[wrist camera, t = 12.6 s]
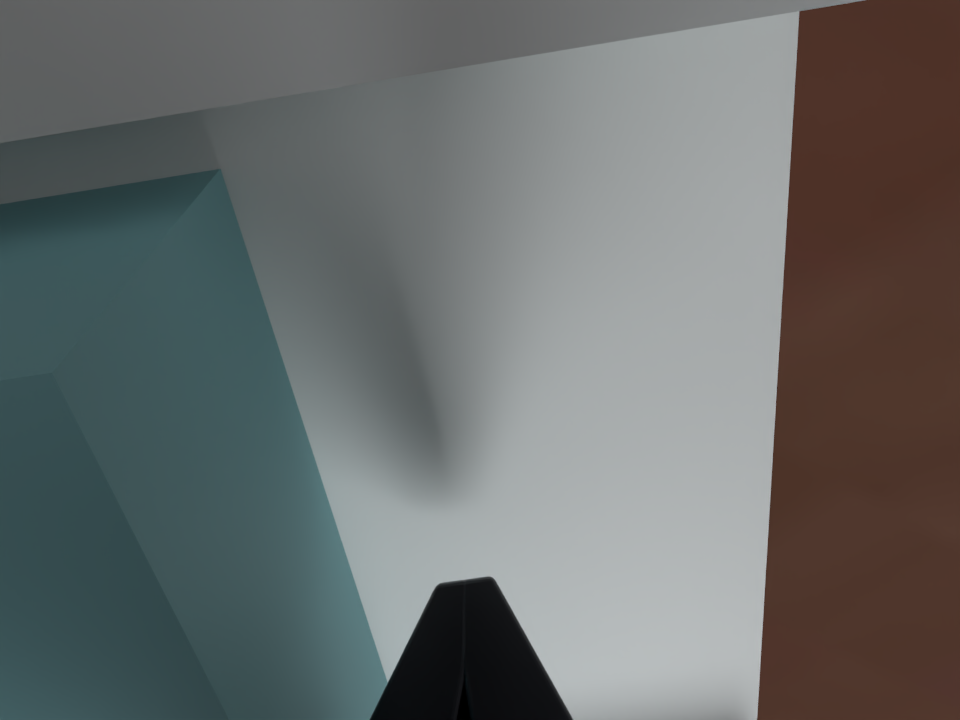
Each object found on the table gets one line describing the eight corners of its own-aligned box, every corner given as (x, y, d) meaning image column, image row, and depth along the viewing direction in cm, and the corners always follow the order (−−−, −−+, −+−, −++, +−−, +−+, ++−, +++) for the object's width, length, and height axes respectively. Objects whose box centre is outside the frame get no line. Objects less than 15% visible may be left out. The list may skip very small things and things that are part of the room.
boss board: (758, -139, 8) (1452, -226, 2) (731, 737, 15) (886, 1180, 10) (-719, 117, 8) (-2746, 494, 3) (-45, 840, 16) (-288, 1313, 11)
